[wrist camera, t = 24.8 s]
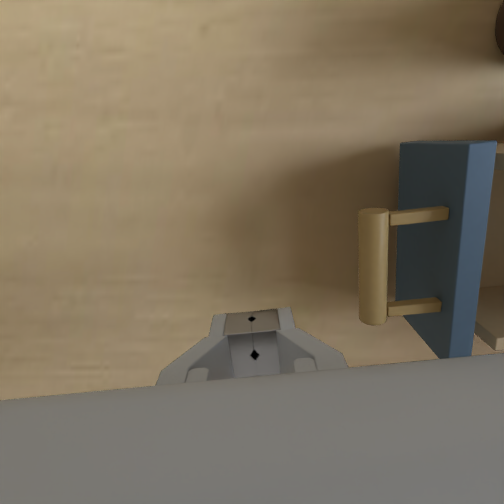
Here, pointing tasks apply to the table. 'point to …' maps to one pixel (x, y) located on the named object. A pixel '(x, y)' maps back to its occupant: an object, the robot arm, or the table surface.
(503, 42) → the pepper mill
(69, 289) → the table surface
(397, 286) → the drawer
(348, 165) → the table surface
